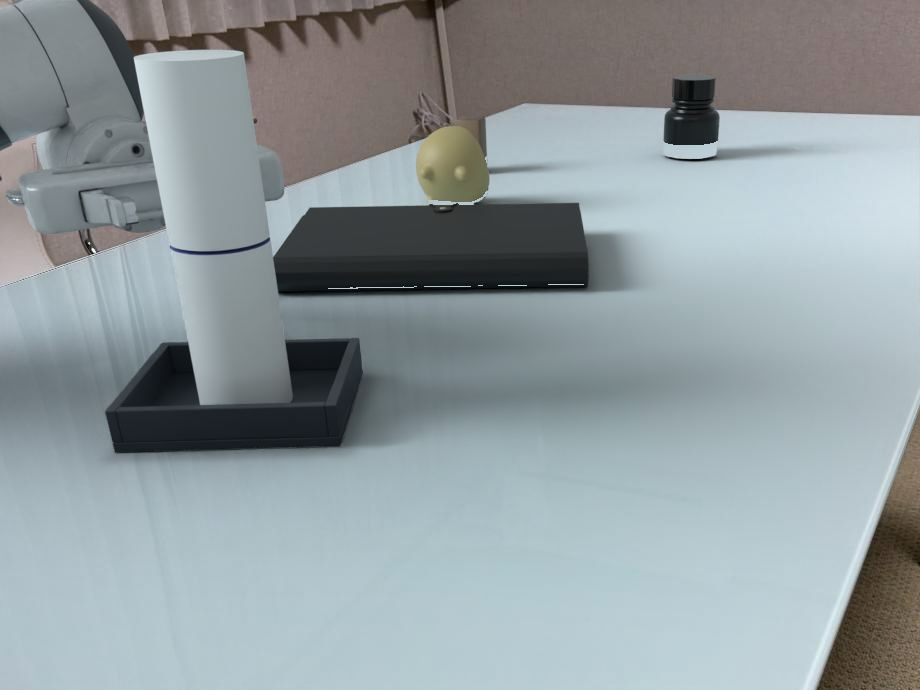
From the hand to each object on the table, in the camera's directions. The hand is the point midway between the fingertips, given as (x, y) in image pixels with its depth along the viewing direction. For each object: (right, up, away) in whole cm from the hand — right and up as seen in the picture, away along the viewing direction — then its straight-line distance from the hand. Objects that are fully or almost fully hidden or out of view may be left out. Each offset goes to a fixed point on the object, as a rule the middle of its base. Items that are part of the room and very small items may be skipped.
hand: (190, 204), depth 79 cm
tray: (+3, -15, +5) cm, 16 cm away
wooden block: (+16, +32, +86) cm, 93 cm away
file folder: (+15, +6, +41) cm, 44 cm away
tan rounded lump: (+15, +20, +64) cm, 69 cm away
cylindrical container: (+3, -14, +4) cm, 15 cm away
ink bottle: (+51, +38, +94) cm, 114 cm away
